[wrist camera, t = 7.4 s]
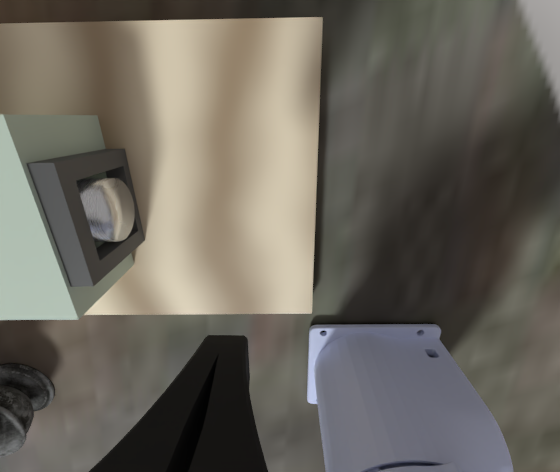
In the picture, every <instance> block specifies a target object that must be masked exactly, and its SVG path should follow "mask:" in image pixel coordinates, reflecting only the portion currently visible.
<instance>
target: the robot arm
mask: <svg viewBox="0 0 560 472" xmlns="http://www.w3.org/2000/svg"><path fill="white" fill-rule="evenodd" d="M323 330H324V331H325V332H321V331H323ZM419 330H421V331H419ZM418 331H419V332H418ZM440 335H441V329H440V328H439V326H438V325H436V324H347V325H313V326H311V327H310V329H309V350H308V380H307V401H308V402H309V403H311V404H318V411H319V420H320V428H321V436H322V444H323V452H324V461H325V469H326V472H513V465H512V461H511V457H510V454H509V451H508V448H507V445H506V442H505V440H504V437H503V435H502V432H501V430H500V428H499V426H498V424H497V422H496V420H495V419H494V417H493V415H492V413H491V412H490V410H489V409H488V407H487V406H486V404H485V403H484V402H483V400H482V399H481V397H480V396H479V395H478V393H477V392H476V390H475V389H474V387H473V386H472V385H471V383H470V382H469V380H468V379H467V378H466V376H465V375H464V373H463V372H462V370H461V369H460V368H459V366H458V365H457V363H456V362H455V361H454V359H453V358H452V356H451V355H450V353H449V352H448V351H447V349H446V348H445V346H444V345H443V344H442V342H441V341H440V339H439V338H440ZM249 380H250V374H249V357H248V340H247V338H246V337H245V336H231V335H208V336H207V337H206V338H205V339H204V341H203V342H202V343H201V345H200V346H199V348H198V349H197V350H196V352H195V353H194V355H193V356H192V357H191V359H190V360H189V361H188V363H187V364H186V365H185V367H184V368H183V369H182V371H181V372H180V373H179V374H178V376H177V377H176V378H175V379H174V381H173V382H172V383H171V384H170V386H169V387H168V388H167V389H166V391H165V392H164V393H163V394H162V395H161V397H160V398H159V399H158V400H157V401H156V402H155V403H154V405H153V406H152V407H151V408H150V409H149V410H148V411H147V413H146V414H145V415H144V416H143V417H142V418H141V419H140V421H139V422H138V423H137V424H136V425H135V426H134V427H133V428H132V429H131V430H130V431H129V432H128V433H127V434H126V436H125V437H124V438H123V439H122V440H121V441H120V442H119V443H118V444H117V445H116V446H115V447H114V448H113V449H112V450H111V451H110V452H109V453H108V454H107V455H106V456H105V457H104V458H103V459H102V460H101V461H100V462H99V463H98V464H96V465H95V466H94V467H93V468H92V469H91V470H90V471H89V472H268V470H267V467H266V463H265V460H264V456H263V452H262V449H261V445H260V441H259V437H258V433H257V429H256V425H255V420H254V415H253V411H252V406H251V400H250V395H249Z"/></svg>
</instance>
